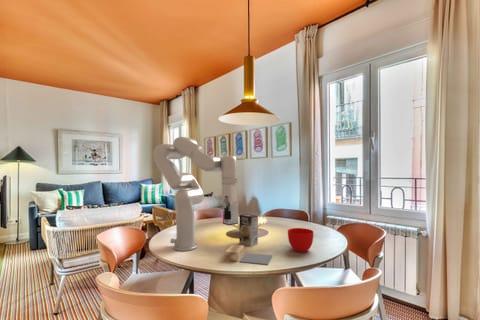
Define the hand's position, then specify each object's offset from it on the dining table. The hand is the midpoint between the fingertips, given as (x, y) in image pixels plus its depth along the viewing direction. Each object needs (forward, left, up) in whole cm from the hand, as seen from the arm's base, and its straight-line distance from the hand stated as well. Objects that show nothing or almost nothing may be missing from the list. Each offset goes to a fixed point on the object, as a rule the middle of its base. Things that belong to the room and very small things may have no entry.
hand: (230, 217), depth 125 cm
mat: (+13, 0, -19) cm, 23 cm away
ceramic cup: (+31, +20, -19) cm, 42 cm away
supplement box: (0, 0, -3) cm, 3 cm away
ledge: (+2, 0, -19) cm, 19 cm away
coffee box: (+3, +23, -19) cm, 30 cm away
